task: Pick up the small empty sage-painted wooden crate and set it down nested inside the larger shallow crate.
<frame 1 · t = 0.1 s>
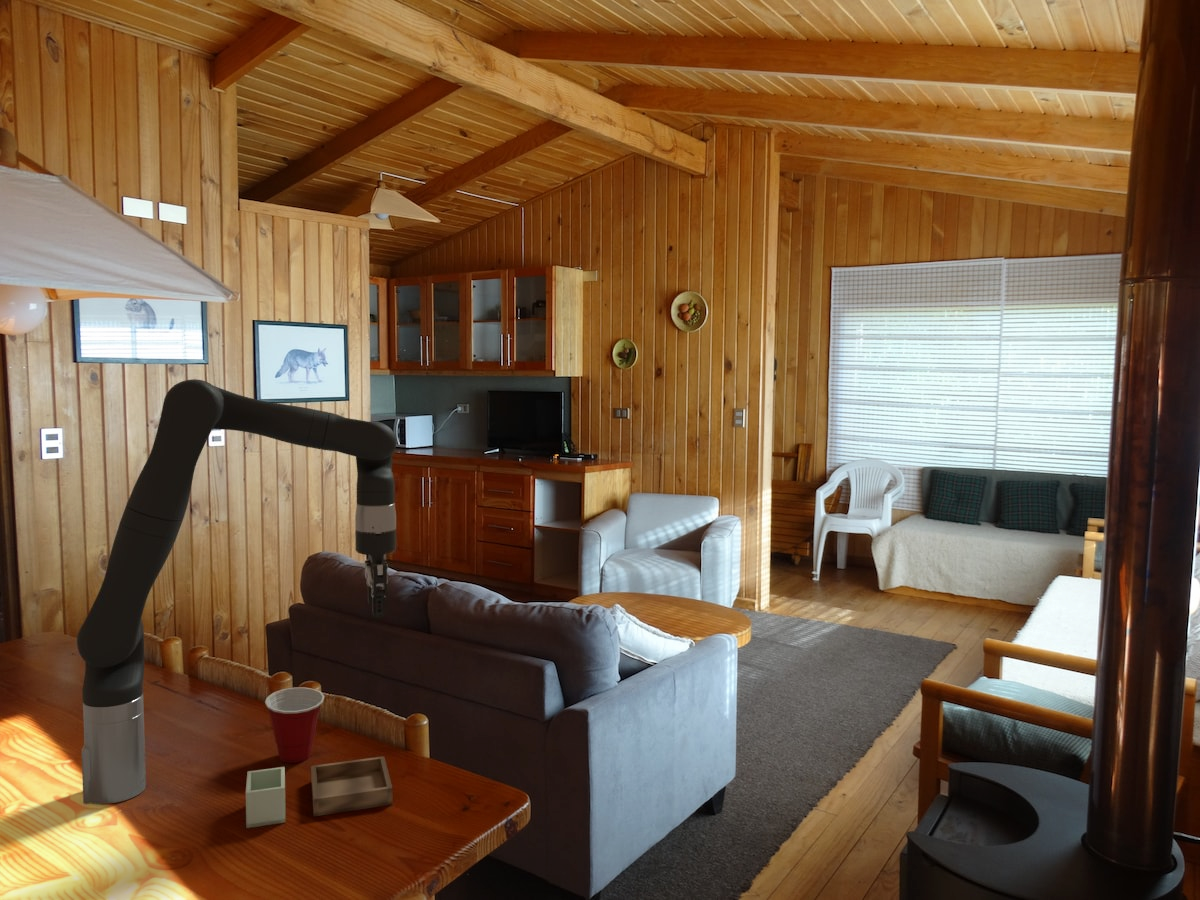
hand: (376, 610, 166), 29 cm above the table, fingers open, 8 cm apart
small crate: (266, 813, 147), on the table
plastic cup: (295, 758, 168), on the table
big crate: (350, 792, 155), on the table
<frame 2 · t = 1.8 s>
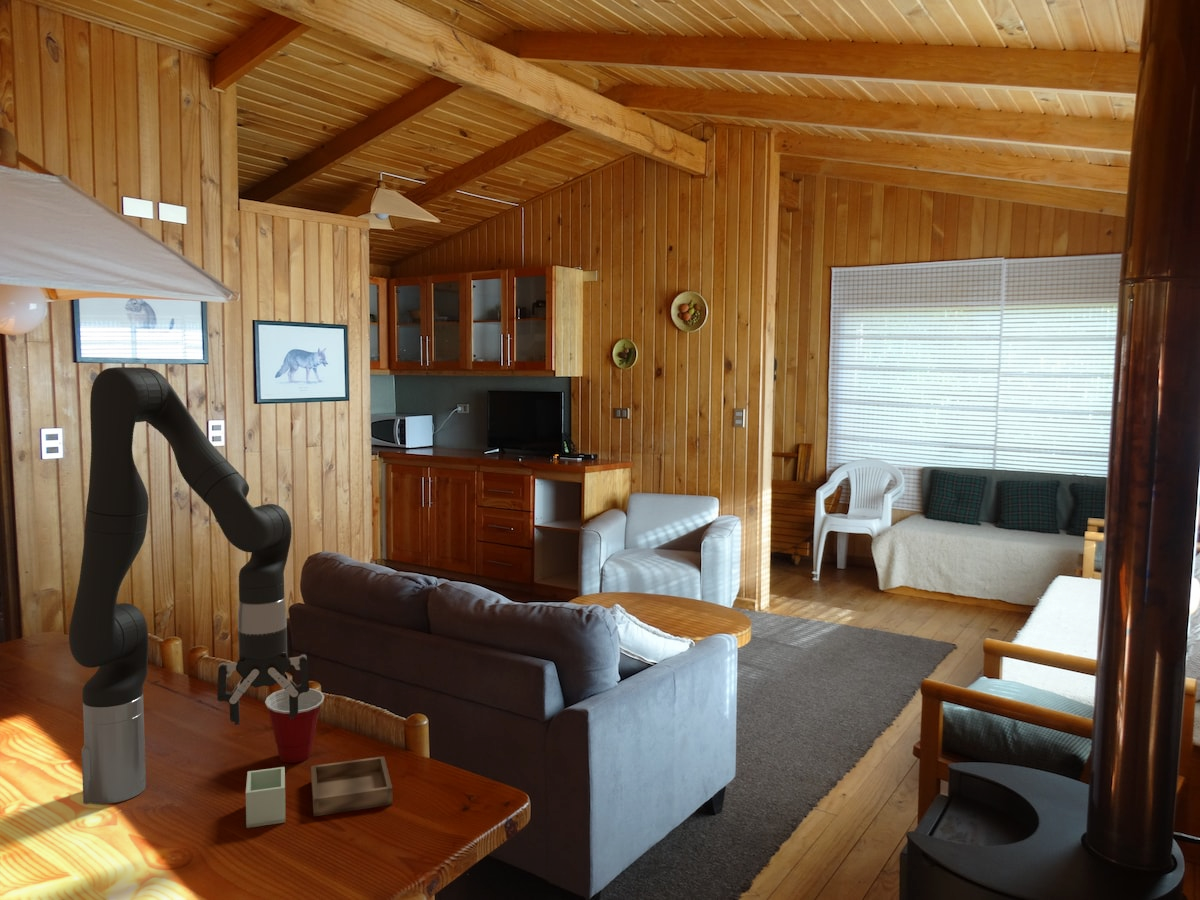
hand: (264, 720, 146), 16 cm above the table, fingers open, 8 cm apart
nothing on the table moved.
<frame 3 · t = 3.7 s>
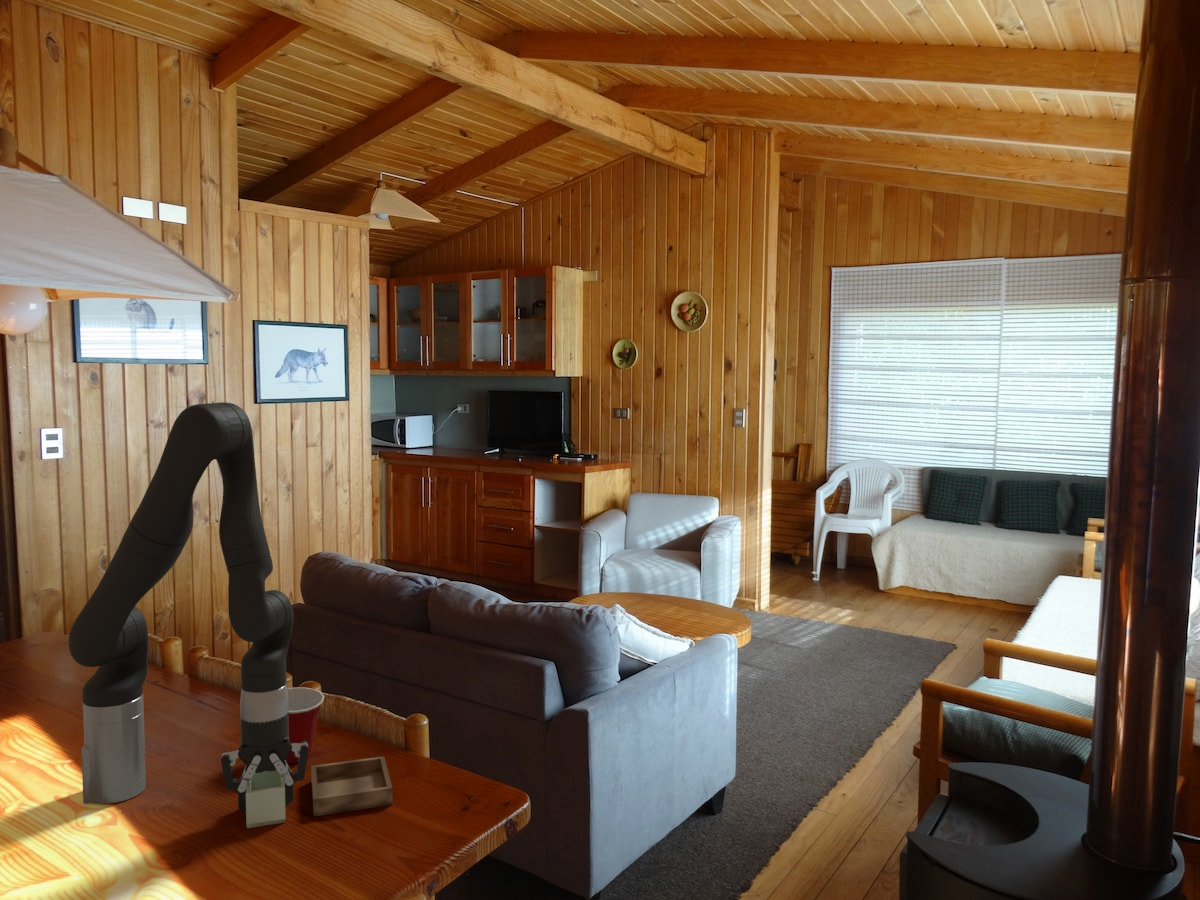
hand: (266, 807, 147), 1 cm above the table, fingers closed on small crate, 6 cm apart
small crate: (266, 813, 147), on the table, touching gripper
everything else where it was.
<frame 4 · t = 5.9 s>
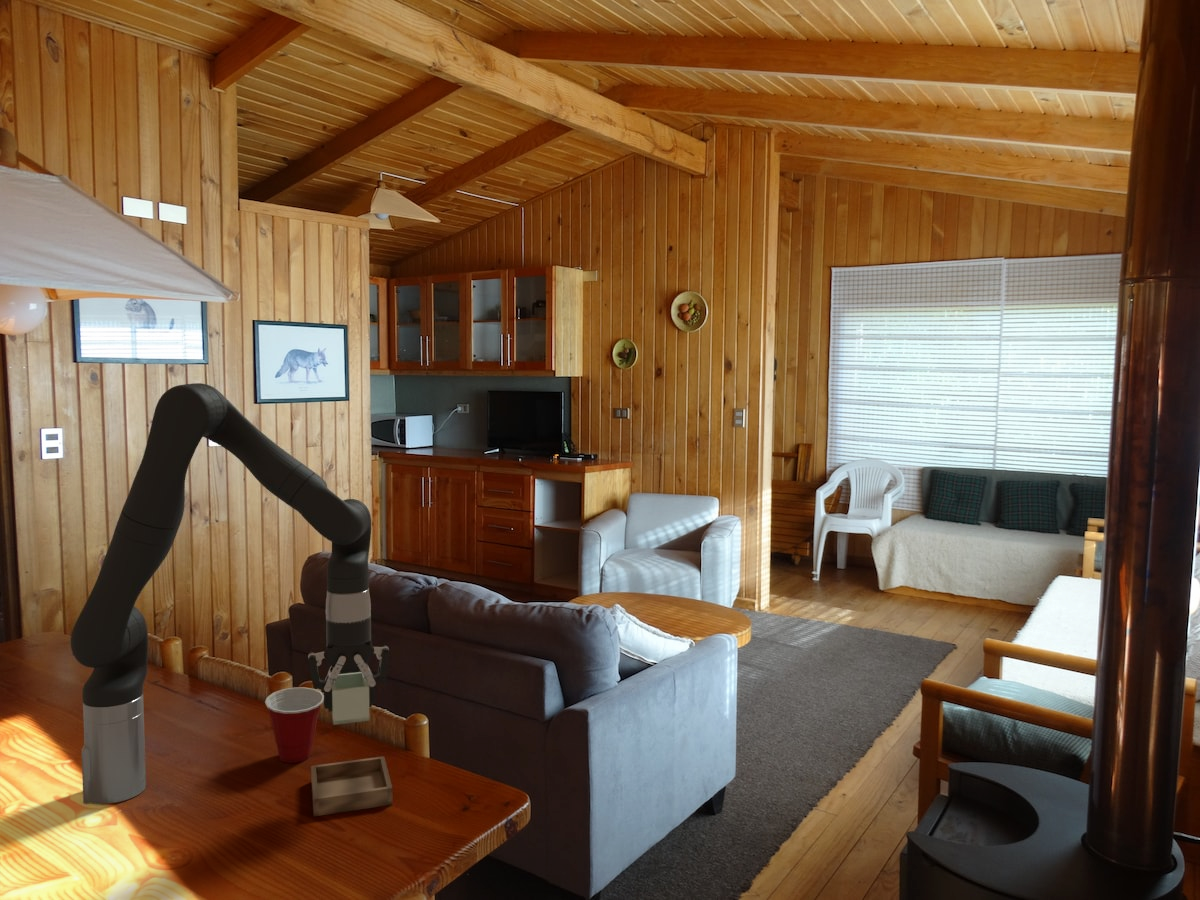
hand: (350, 707, 153), 16 cm above the table, fingers closed on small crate, 6 cm apart
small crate: (349, 713, 153), point 15 cm above the table, touching gripper
everything else where it was.
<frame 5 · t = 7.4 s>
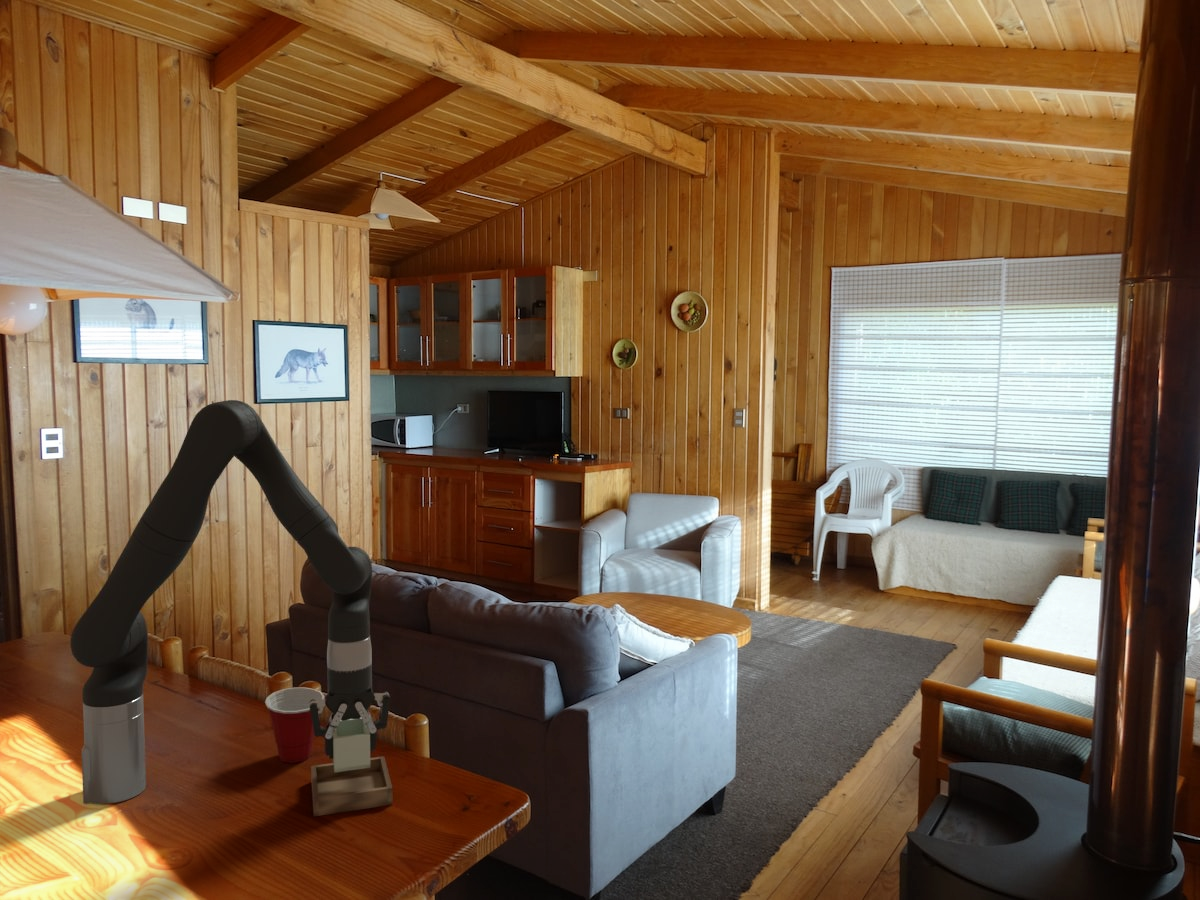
hand: (350, 753, 154), 7 cm above the table, fingers closed on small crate, 6 cm apart
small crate: (350, 760, 154), point 6 cm above the table, touching gripper
everything else where it was.
when the fingers open (4 cm above the table, at t = 8.6 s): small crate drops 2 cm, resting on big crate.
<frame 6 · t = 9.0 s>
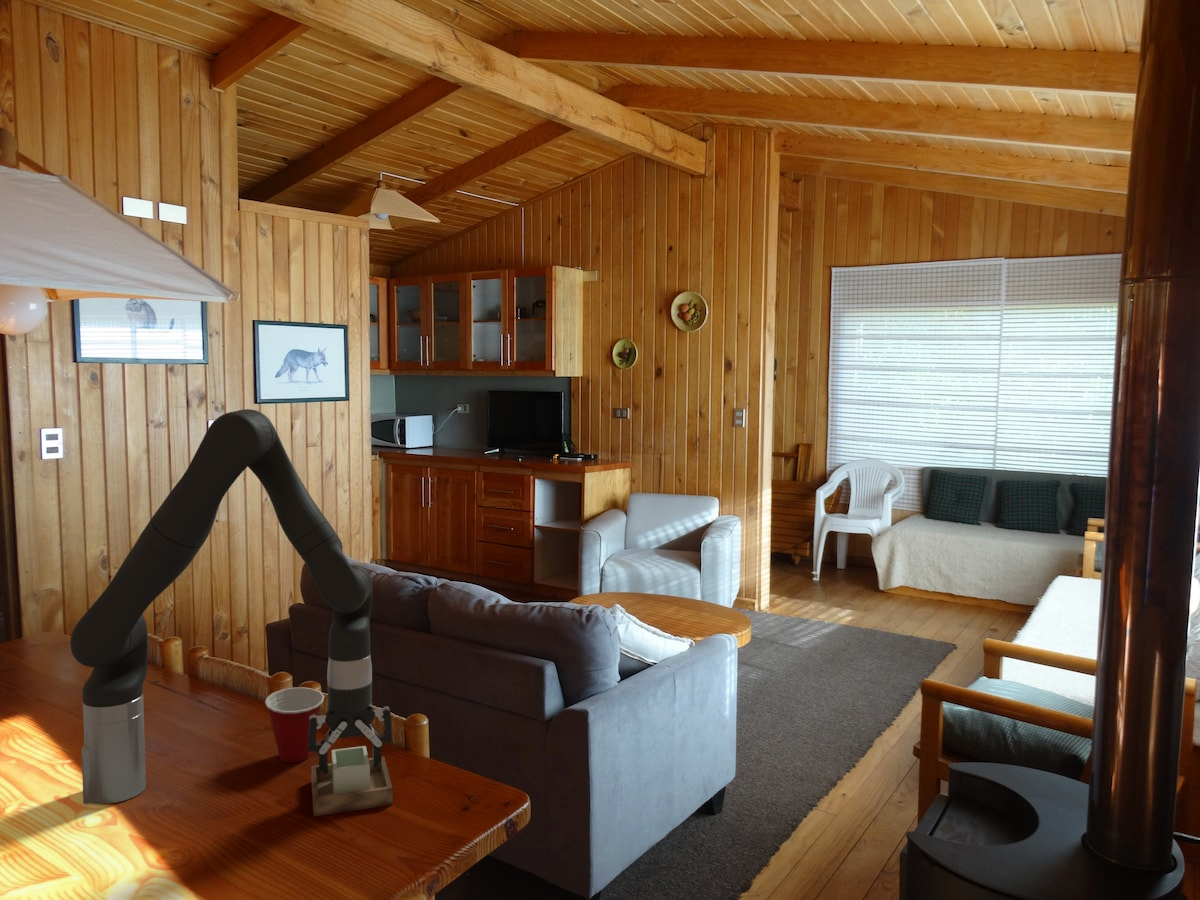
hand: (350, 768, 154), 4 cm above the table, fingers open, 8 cm apart
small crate: (350, 789, 155), point 1 cm above the table, touching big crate
everything else where it was.
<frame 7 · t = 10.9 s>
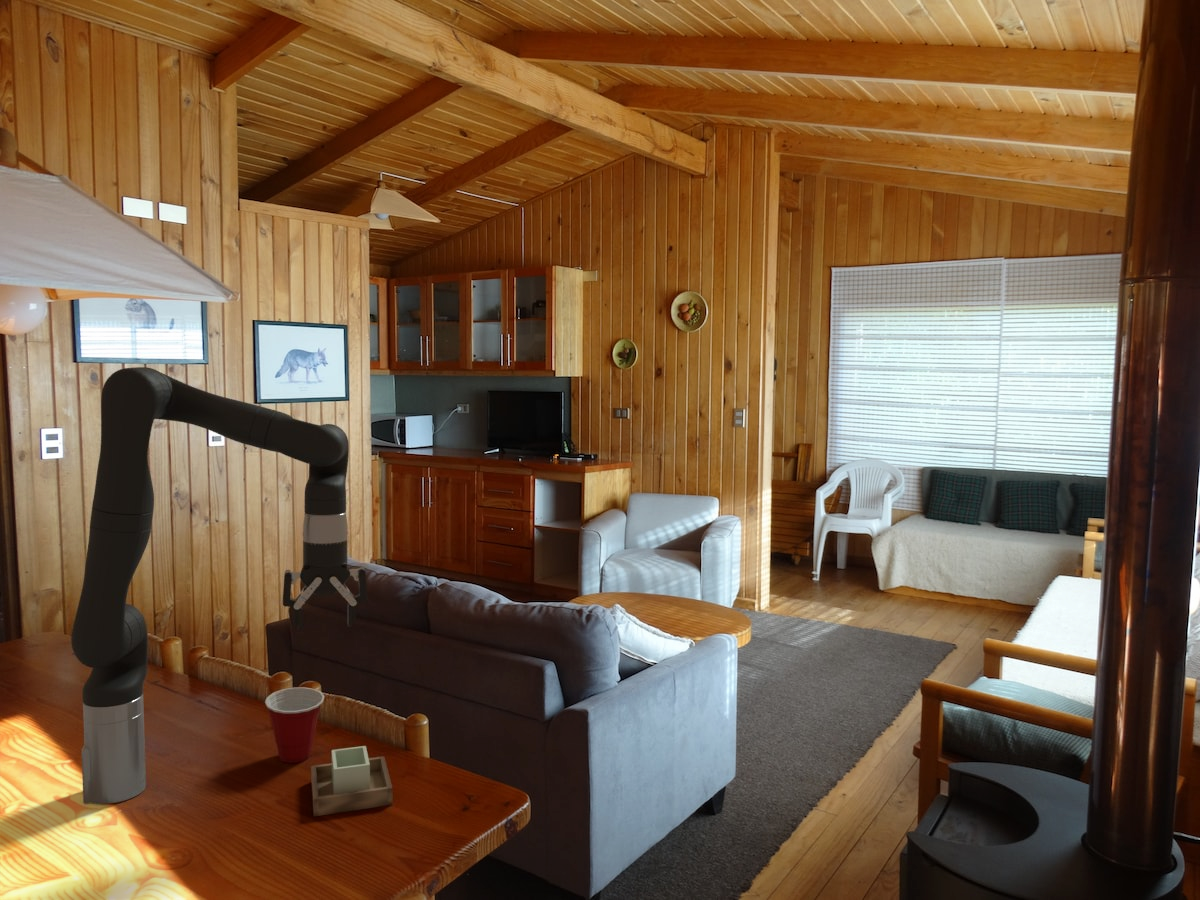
hand: (325, 626, 155), 29 cm above the table, fingers open, 8 cm apart
nothing on the table moved.
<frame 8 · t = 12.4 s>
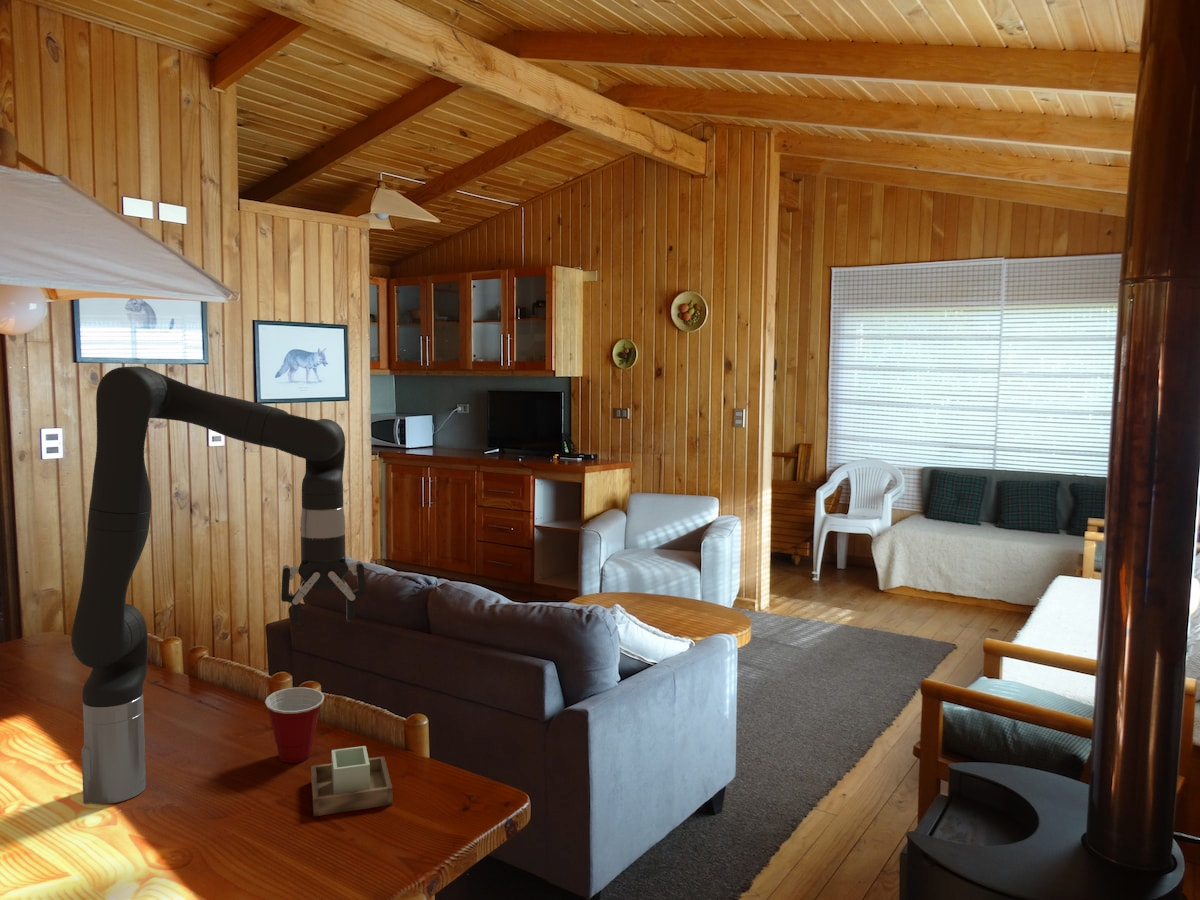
hand: (324, 621, 155), 30 cm above the table, fingers open, 8 cm apart
nothing on the table moved.
at the end: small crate 0.0 cm off-centre on the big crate, point 0.6 cm above the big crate's base; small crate tilted 0°; the gripper is holding nothing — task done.
